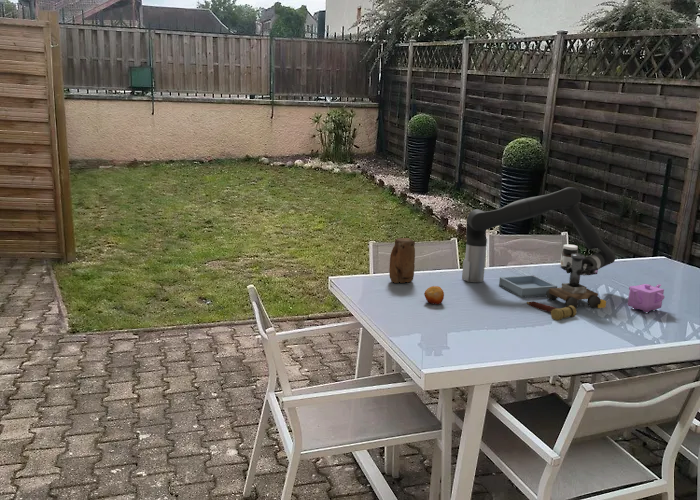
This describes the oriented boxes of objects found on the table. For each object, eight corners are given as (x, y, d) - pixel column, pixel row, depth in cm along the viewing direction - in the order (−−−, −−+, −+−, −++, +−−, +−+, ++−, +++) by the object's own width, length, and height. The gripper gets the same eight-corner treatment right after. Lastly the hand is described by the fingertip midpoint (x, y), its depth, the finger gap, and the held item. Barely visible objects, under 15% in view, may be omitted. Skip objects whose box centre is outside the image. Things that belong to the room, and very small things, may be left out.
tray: (521, 297, 273) (522, 288, 272) (499, 285, 290) (499, 277, 289) (556, 294, 279) (557, 286, 278) (532, 283, 296) (533, 275, 295)
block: (405, 278, 297) (407, 236, 292) (415, 282, 291) (417, 239, 286) (386, 281, 291) (388, 238, 287) (396, 285, 285) (398, 242, 280)
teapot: (623, 302, 272) (627, 278, 269) (657, 305, 269) (661, 281, 266) (629, 313, 258) (633, 288, 255) (665, 317, 254) (669, 291, 252)
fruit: (447, 297, 265) (445, 284, 260) (442, 311, 260) (440, 298, 255) (429, 294, 269) (427, 281, 263) (423, 308, 264) (421, 295, 258)
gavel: (519, 299, 262) (535, 295, 267) (518, 309, 263) (534, 306, 268) (560, 310, 245) (577, 306, 250) (559, 321, 246) (576, 317, 251)
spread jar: (558, 264, 332) (561, 243, 329) (581, 266, 330) (583, 244, 327) (562, 270, 320) (565, 248, 317) (586, 272, 319) (588, 249, 316)
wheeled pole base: (567, 310, 258) (569, 291, 257) (545, 299, 272) (547, 281, 270) (599, 307, 264) (602, 289, 262) (576, 296, 277) (578, 279, 275)
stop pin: (572, 292, 263) (576, 256, 260) (564, 288, 268) (568, 253, 264) (582, 291, 265) (587, 256, 261) (574, 287, 270) (578, 253, 266)
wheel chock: (598, 308, 263) (599, 301, 262) (593, 305, 266) (594, 299, 265) (605, 307, 264) (606, 301, 263) (600, 305, 267) (601, 298, 266)
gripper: (573, 253, 279) (557, 259, 266) (606, 259, 270) (591, 266, 257) (571, 269, 280) (555, 277, 268) (604, 276, 271) (589, 284, 259)
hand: (573, 272), depth 262 cm, fingers closed on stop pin, 4 cm apart
